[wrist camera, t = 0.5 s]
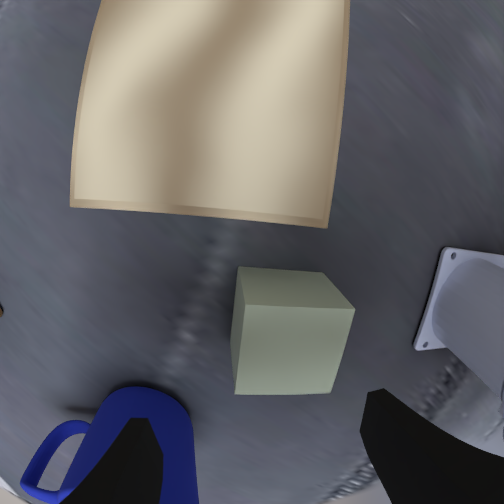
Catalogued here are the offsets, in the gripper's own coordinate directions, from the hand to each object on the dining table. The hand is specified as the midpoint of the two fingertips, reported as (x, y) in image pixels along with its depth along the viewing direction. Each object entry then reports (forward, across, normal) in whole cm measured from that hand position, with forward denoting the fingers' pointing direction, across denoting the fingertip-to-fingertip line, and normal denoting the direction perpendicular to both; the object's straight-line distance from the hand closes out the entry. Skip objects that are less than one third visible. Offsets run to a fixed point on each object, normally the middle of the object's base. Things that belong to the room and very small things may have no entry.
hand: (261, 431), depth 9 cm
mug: (+10, +10, +8) cm, 16 cm away
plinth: (+10, +1, -12) cm, 16 cm away
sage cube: (+10, -2, +1) cm, 10 cm away
